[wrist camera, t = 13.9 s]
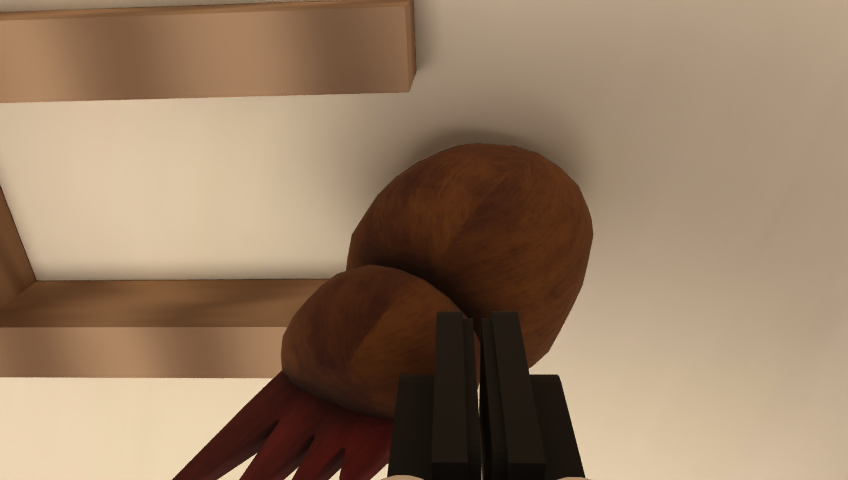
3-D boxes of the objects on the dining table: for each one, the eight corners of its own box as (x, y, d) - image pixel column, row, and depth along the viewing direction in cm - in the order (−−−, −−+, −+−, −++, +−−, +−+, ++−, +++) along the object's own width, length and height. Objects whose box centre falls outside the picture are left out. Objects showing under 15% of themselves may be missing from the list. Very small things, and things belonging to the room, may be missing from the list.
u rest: (413, -3, 20) (405, 6, 16) (426, 326, 25) (422, 378, 22) (-98, 16, 21) (-197, 27, 18) (28, 326, 27) (-29, 376, 23)
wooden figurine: (431, 218, 24) (107, 516, 14) (463, 92, 20) (52, 368, 10) (580, 298, 22) (339, 719, 12) (646, 176, 18) (380, 630, 8)
